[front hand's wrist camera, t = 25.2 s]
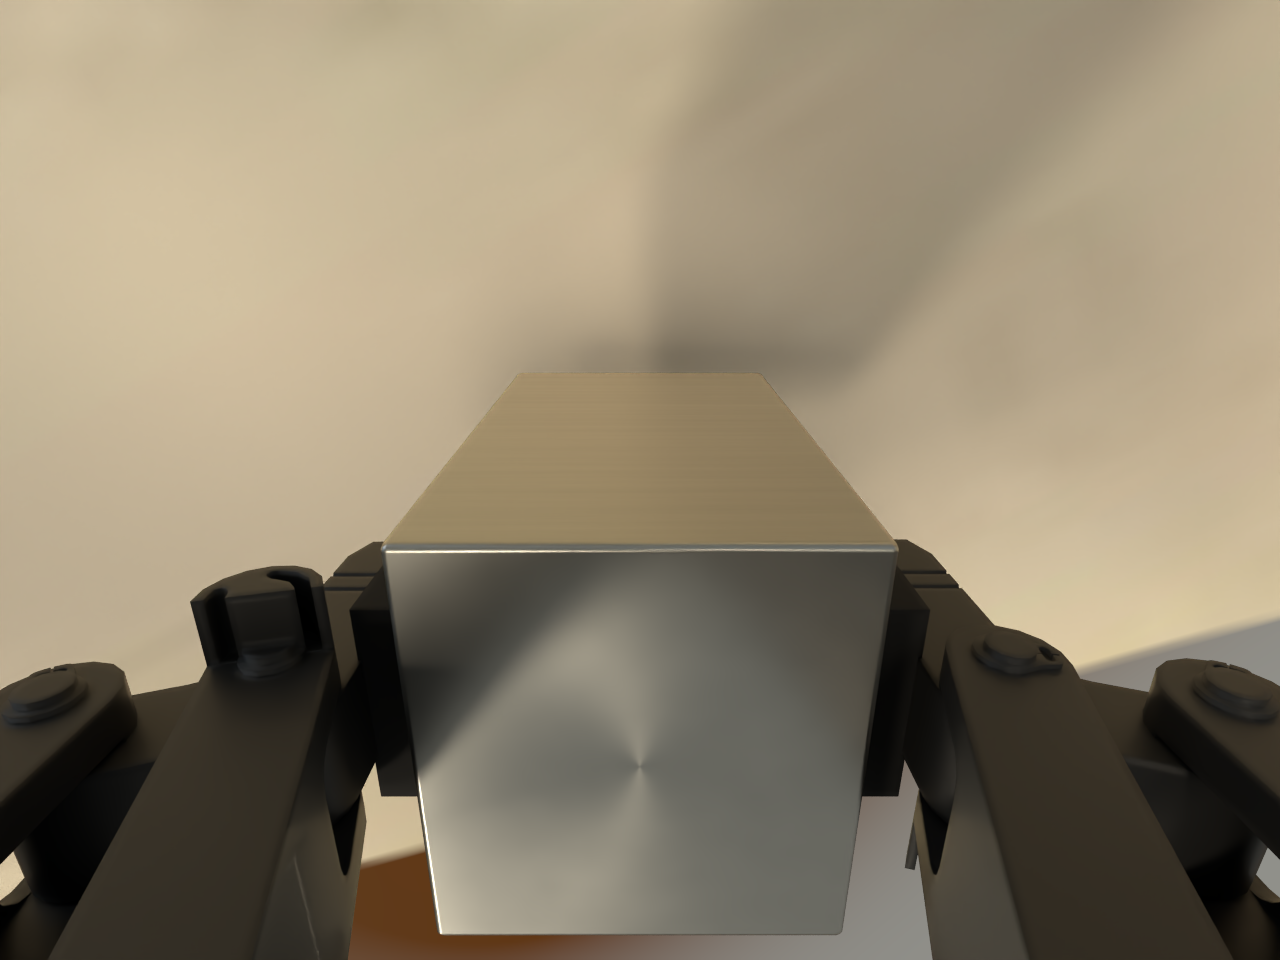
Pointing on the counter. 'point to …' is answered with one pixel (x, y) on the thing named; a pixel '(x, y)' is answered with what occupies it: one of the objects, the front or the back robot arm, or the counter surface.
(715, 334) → the counter surface
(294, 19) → the counter surface
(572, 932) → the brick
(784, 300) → the counter surface
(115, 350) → the counter surface
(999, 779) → the front robot arm
